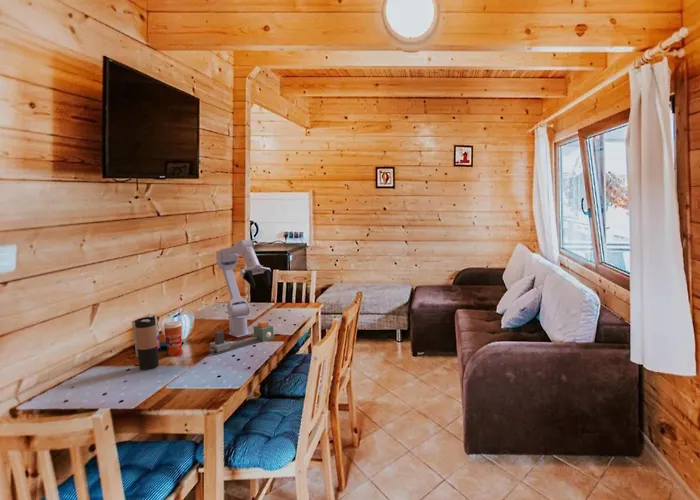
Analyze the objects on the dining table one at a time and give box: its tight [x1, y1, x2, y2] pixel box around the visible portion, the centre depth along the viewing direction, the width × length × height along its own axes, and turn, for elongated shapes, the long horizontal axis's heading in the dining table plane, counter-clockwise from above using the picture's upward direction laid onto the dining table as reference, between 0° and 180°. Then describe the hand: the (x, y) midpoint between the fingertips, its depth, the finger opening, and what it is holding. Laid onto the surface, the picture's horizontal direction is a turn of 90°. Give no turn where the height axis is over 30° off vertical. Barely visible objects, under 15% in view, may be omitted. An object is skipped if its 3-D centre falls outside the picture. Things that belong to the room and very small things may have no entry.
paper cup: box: [162, 320, 183, 357], centre depth 192 cm, size 8×8×14 cm
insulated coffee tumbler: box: [131, 314, 161, 358], centre depth 193 cm, size 11×5×16 cm, turn 168°
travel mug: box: [134, 317, 160, 371], centre depth 176 cm, size 8×8×20 cm
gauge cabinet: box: [253, 324, 275, 342], centre depth 209 cm, size 8×6×6 cm
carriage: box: [209, 330, 231, 352], centre depth 193 cm, size 7×6×7 cm
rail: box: [208, 335, 261, 356], centre depth 199 cm, size 6×23×2 cm, turn 135°
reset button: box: [257, 320, 269, 328], centre depth 209 cm, size 4×4×4 cm
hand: (261, 286), depth 192 cm, fingers open, 7 cm apart
